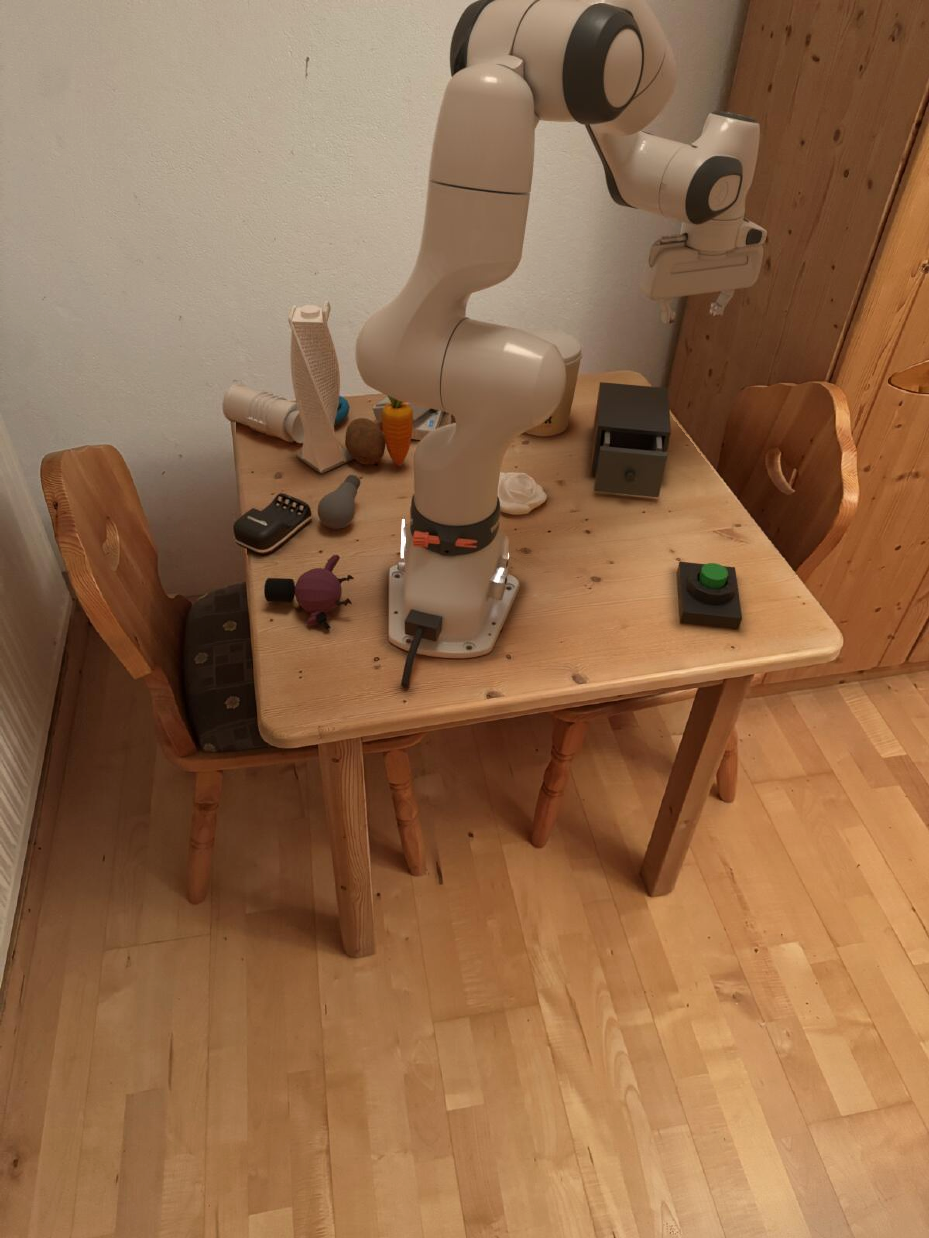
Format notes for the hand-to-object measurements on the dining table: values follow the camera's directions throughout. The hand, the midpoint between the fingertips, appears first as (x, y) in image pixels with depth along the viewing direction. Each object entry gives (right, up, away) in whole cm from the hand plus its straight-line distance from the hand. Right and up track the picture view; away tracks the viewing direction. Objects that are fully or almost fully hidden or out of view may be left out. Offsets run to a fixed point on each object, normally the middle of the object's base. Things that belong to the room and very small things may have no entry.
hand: (691, 318), depth 145 cm
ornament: (-58, -14, +10) cm, 61 cm away
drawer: (-10, -25, +2) cm, 27 cm away
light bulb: (-54, -27, -7) cm, 61 cm away
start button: (-3, -44, -22) cm, 49 cm away
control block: (-3, -47, -19) cm, 50 cm away
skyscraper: (-61, -23, +4) cm, 65 cm away
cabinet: (-9, -21, +8) cm, 24 cm away
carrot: (-48, -24, +4) cm, 54 cm away
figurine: (-64, -45, -24) cm, 82 cm away
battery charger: (-63, -31, -8) cm, 71 cm away
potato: (-54, -17, +1) cm, 57 cm away
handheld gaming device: (-50, -13, +7) cm, 52 cm away
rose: (-29, -30, -2) cm, 42 cm away
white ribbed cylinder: (-64, -17, +5) cm, 67 cm away
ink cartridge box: (-41, -14, +13) cm, 45 cm away
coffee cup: (-23, -14, +15) cm, 31 cm away
